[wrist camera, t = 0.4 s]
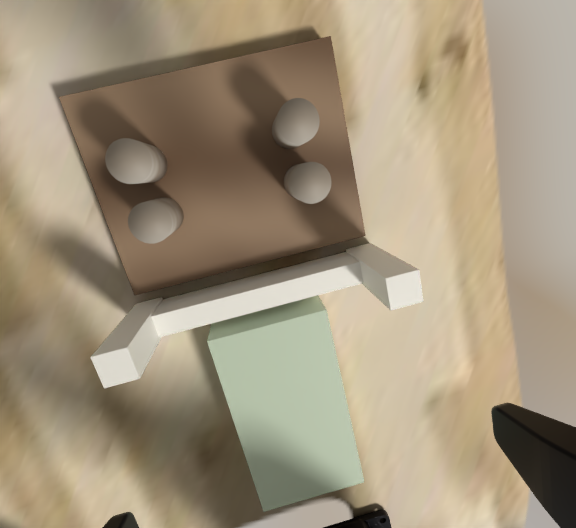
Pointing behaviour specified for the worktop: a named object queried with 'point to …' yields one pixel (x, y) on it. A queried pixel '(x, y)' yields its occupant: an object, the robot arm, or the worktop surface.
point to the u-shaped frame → (251, 303)
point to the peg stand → (220, 163)
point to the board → (287, 401)
